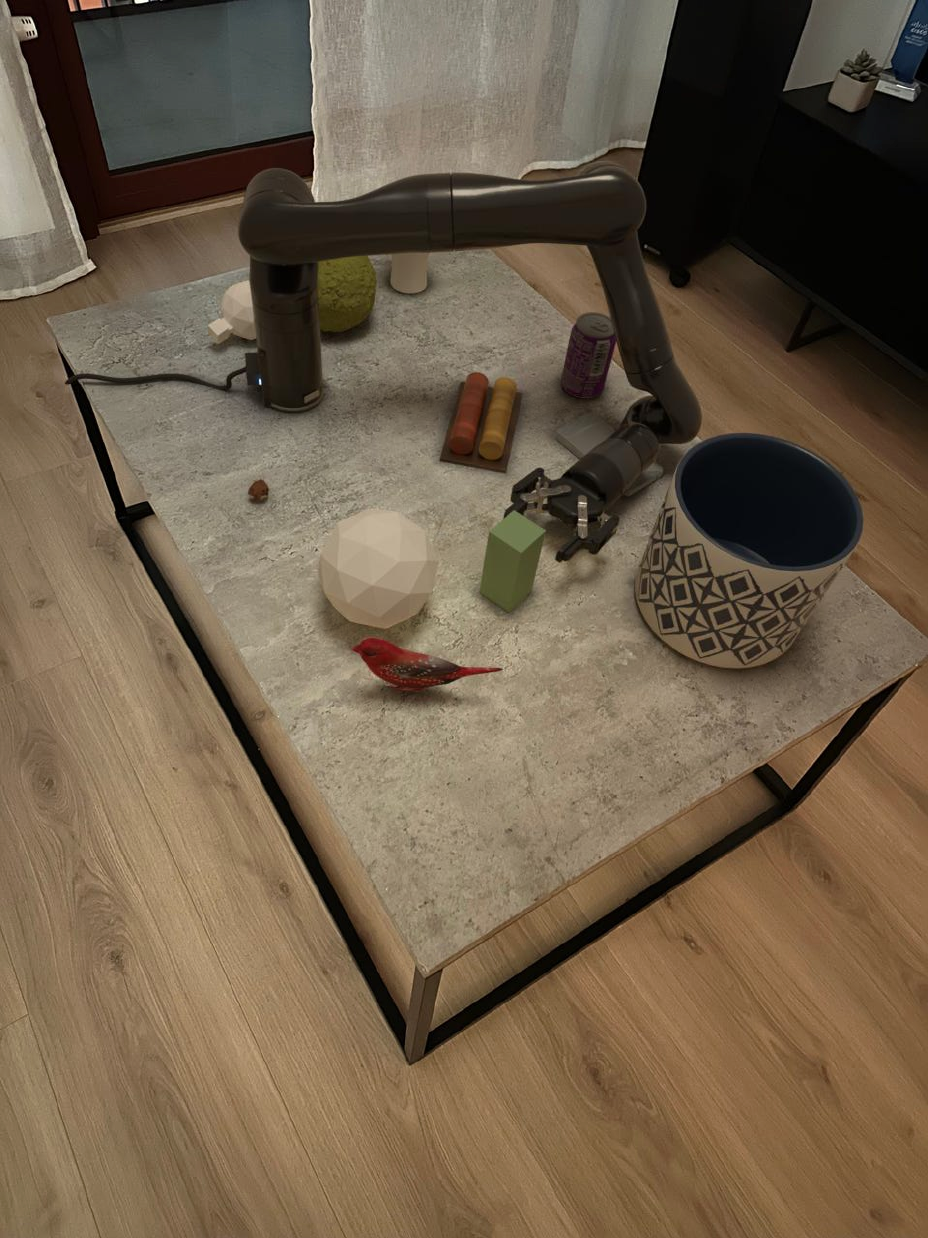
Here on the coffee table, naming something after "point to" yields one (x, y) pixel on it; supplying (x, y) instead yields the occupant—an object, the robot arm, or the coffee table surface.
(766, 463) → the planter
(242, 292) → the perfume bottle
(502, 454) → the rod rack
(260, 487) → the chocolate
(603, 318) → the beverage can
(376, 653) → the decorative bird figurine
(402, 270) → the cup
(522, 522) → the green bar
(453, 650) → the coffee table surface
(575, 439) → the phone
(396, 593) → the geometric sphere
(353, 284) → the fruit
